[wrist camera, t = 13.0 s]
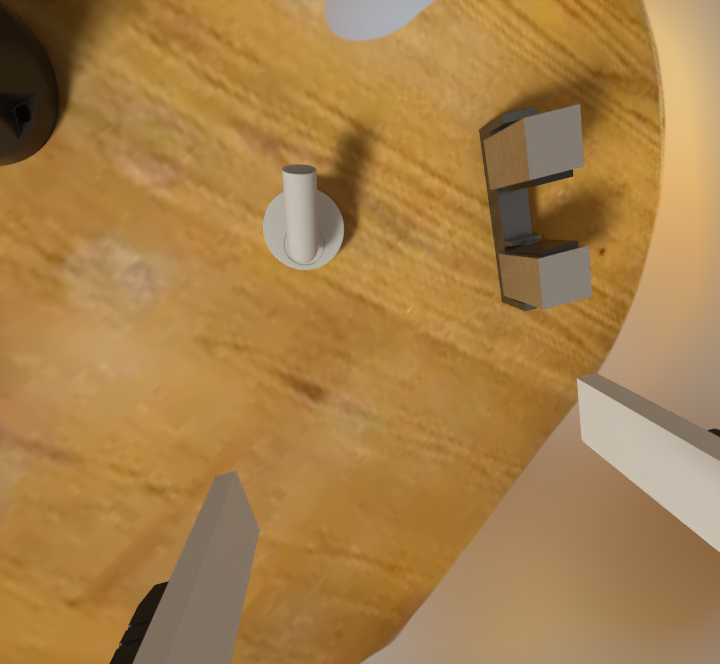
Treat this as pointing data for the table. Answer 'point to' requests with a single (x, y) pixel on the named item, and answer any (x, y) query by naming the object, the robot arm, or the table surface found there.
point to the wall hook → (303, 221)
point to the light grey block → (547, 273)
